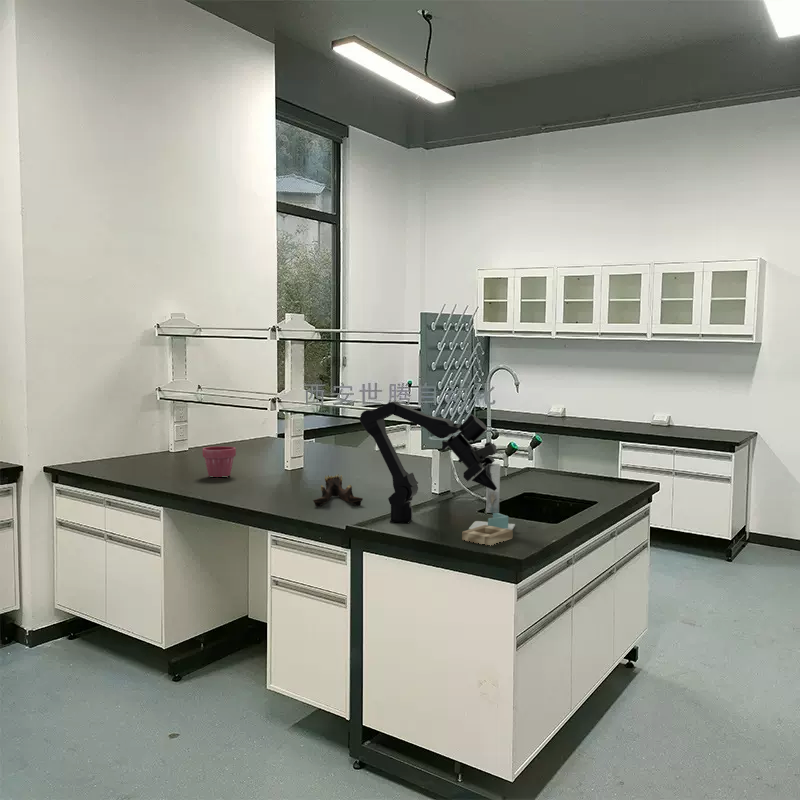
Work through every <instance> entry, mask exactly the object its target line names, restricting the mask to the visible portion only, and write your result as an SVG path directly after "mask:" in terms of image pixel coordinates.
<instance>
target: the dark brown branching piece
mask: <svg viewBox="0 0 800 800" xmlns="http://www.w3.org/2000/svg"><path fill="white" fill-rule="evenodd" d="M324 481H325V486H324V485H322V484H320V492H321V496H320V497H318V498H316V499H313V500H312V501H313V503H314V506H315V507H317V508H320V507H321V506H322V505H324V504H325V503H328V502H329V501H330V499H331V498H332V497H339V498H340V499H341V500H343V501H344V502H348V503H352V504H354V505H355V506H361V504H362V501H363V500H364V498H363V497H360V496H359V497H358V496H354V493H353V486H352V485H351V484H349V485H347V487H346V488H345V489H344V488H343V475H342V474H341V475H340V474H339V473H338V474H335V475H334V476H333V475H329V474H328V475H325V474H324Z"/></svg>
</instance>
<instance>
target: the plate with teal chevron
mask: <svg viewBox="0 0 800 800" xmlns="http://www.w3.org/2000/svg"><path fill="white" fill-rule="evenodd" d="M483 525H489V526H494V527H499V528H504V529H509V530H513V531H514V528H515V527H516V523H509V516H508V515H507V514H506V515H505V514H502V513H500V512H499V513H492V517H489V518H487V521H481V520H475V521H474V522H473V523H472V524H471V525H470V526H469V528H468V530H470V529H473V528H476V527H479V526H483Z"/></svg>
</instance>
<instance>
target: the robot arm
mask: <svg viewBox="0 0 800 800" xmlns="http://www.w3.org/2000/svg"><path fill="white" fill-rule="evenodd" d="M393 415H394V416H396V417H398V418H400V419H403V420H406V421H408V422H410V423H413V424H415V425H418V426H419V427H422V428H424V429H426V430H427V431H428V432H429V433H430V434H432V435H433V436H435V437H436V438H439V439H444V438H448V437H449V438H448V439H447V440H443V441H441V443H442V444H441V445H442V446H441V449H442V451H444V450H447V449H448V448H449V449H450V450H451V452H452V453H453V454H454V455H455V456H456V457H457V458H458V462H459V463H462V464H463V465H464V466H465V467H466V470H464V471H463V478H464V479H465V480H466V481H467V482H469V481H470V480H471V481H472V482H473V483H476V484H479V485H482V486H483V487H486V488H487V487H488V488H490V489H492V490H494V491H495V490H496V489H497V487H496V486H495V484H494V483H493V481H492V480H491V478H490V477H489V475H488V473H487V469H488V468H487V464H494V462H495V461H496V460H495V458H493V455H496V454H497V453H498V450H497V445H496V444H495V442H493V443H492V442H491V441H488V442H486V443H484V446H482V447H481V448H479V449H478V447H477V446H472V445H471V443H470V442H476V441H477V440H478V439H479V438H480V437H481V436H482V435H483V434H484V433H485V432H486V431H488V427H487V426H486V424H485V422H483V421H482V420H480V419H479V418H478V417H477V416H476V415H474V414H470V415H469V416H468V417H467V418H466V420H465V421H464V422H462V424H459V423H454V422H453V420H452V419H449V418H445V417H439V416H434V415H429V414H427V413H424V412H422V411H419V410H416V409H414V408H411V407H409V406H406V405H404V404H401V403H400V402H398V401H389V402H387V403H386V404H384V405H382V406H379V407H376V408H372V409H366V410H364V411H362V412H361V414H360V417H359V421H360V424H361V426H362V427H363V428H364V430H365V431H366V432H367V433H368V434H369V435H370V436H371V437H372V438H373V439H374V442H375V444H376V446H377V449H378V451H379V453H380V455H381V456H382V457H383V460H384V462H385V464H386V467H387V469H388V470H389V473H390V475H391V478H392V487H393V490H394V492H393V493H392V494H391V495H390V496H389V497H388V502H389V504H390V519H389V523H391V522H410V523H411V521H412V520H413V514H414V513H413V506H412V501H413V498H414V496H415V495H417V493H418V491H419V486H418V484H419V481H417V479H416V477H415V474H414V472H410V473H408V472H407V471H406V470H405V468H404V466H403V464H402V461H401V460H400V457H399V456H398V453H397V451H396V449H395V448H394V445H393V443H392V442H391V439H390V438H389V435H388V433H387V430H386V429H387V428H386V421H385V419H387V418H389V417H391V416H393ZM457 433H458V434H457ZM453 434H456V435H453ZM472 478H473V479H472Z"/></svg>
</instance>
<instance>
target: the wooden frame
mask: <svg viewBox="0 0 800 800" xmlns="http://www.w3.org/2000/svg"><path fill="white" fill-rule="evenodd" d="M461 532H462V533H461V541H464V540H465V542H469V541H470V542H469V543H473V542H474V544H478V543H479V544H478V545H482V544H485V545H484V546H487V545H490V546H489V547H492V546H495V545H497V544H496V543H498V544H500V543H499V542H501V543H504V542H506V541H508V540H512V539H513V537H514V536H513V532H514V529H513V530H509V529H504V528H499V527H494V526H489V525H483V526H479V527H476V528H473V529H470V530H469V529H467V530H463V531H461ZM503 541H504V542H503ZM494 544H495V545H494ZM491 545H492V546H491Z"/></svg>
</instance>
